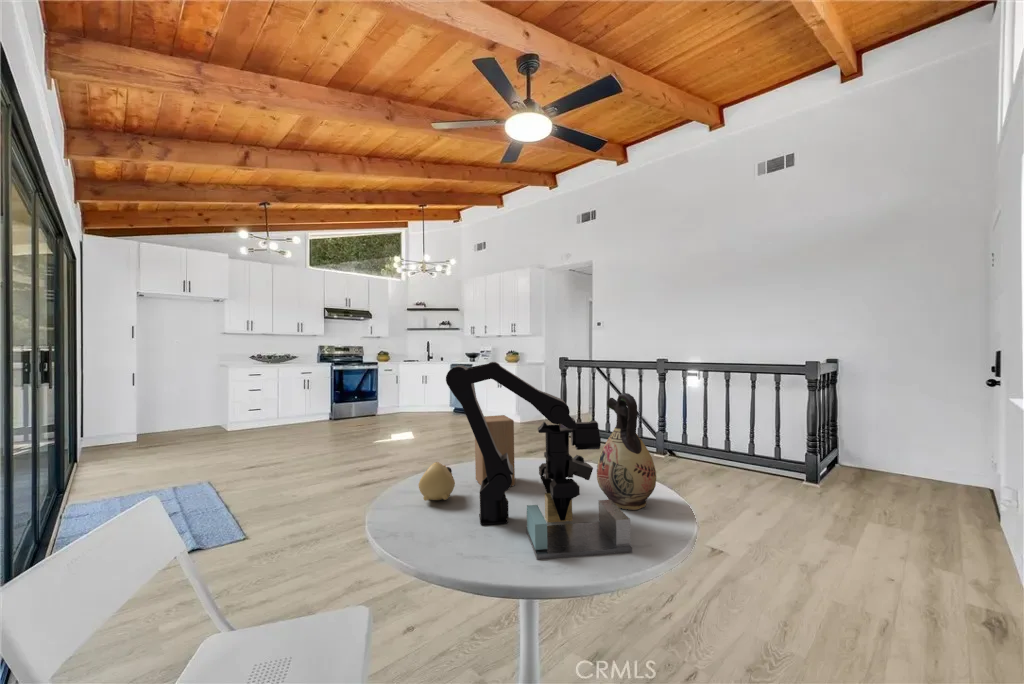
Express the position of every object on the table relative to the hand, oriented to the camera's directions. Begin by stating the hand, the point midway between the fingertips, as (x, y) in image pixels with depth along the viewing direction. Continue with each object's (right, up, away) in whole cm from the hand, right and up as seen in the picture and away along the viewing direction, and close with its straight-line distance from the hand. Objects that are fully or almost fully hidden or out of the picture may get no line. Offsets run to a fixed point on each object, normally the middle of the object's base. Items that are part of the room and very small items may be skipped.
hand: (558, 513), depth 115 cm
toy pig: (-32, -2, +15) cm, 36 cm away
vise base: (+3, -1, -13) cm, 13 cm away
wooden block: (-17, -2, +29) cm, 34 cm away
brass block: (0, -1, 0) cm, 1 cm away
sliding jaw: (-6, 0, -14) cm, 15 cm away
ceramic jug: (+19, -1, +8) cm, 21 cm away
